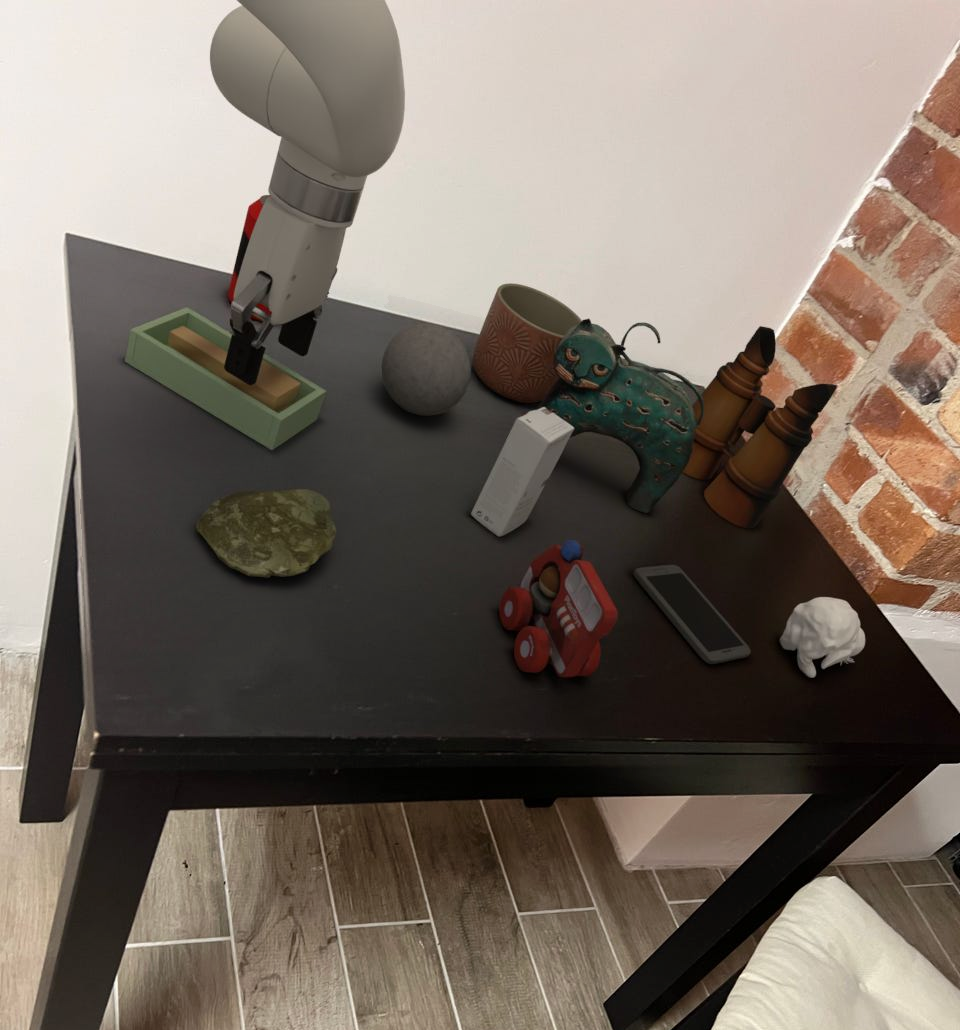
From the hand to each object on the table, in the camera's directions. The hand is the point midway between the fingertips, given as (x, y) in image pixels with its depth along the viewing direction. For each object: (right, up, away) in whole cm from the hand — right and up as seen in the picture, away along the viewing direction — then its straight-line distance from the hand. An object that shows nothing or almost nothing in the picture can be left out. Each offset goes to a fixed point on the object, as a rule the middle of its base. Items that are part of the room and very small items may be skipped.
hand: (266, 362), depth 89 cm
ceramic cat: (+33, -7, +22) cm, 40 cm away
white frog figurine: (+58, -29, +14) cm, 67 cm away
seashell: (+2, -19, -10) cm, 21 cm away
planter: (+24, +7, +32) cm, 40 cm away
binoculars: (+52, -6, +36) cm, 63 cm away
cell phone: (+43, -24, +10) cm, 51 cm away
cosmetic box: (+23, -14, +8) cm, 28 cm away
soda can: (-5, +12, +19) cm, 23 cm away
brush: (-5, -2, +3) cm, 6 cm away
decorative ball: (+13, 0, +17) cm, 21 cm away
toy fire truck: (+26, -28, -5) cm, 38 cm away
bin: (-5, -2, +4) cm, 7 cm away
